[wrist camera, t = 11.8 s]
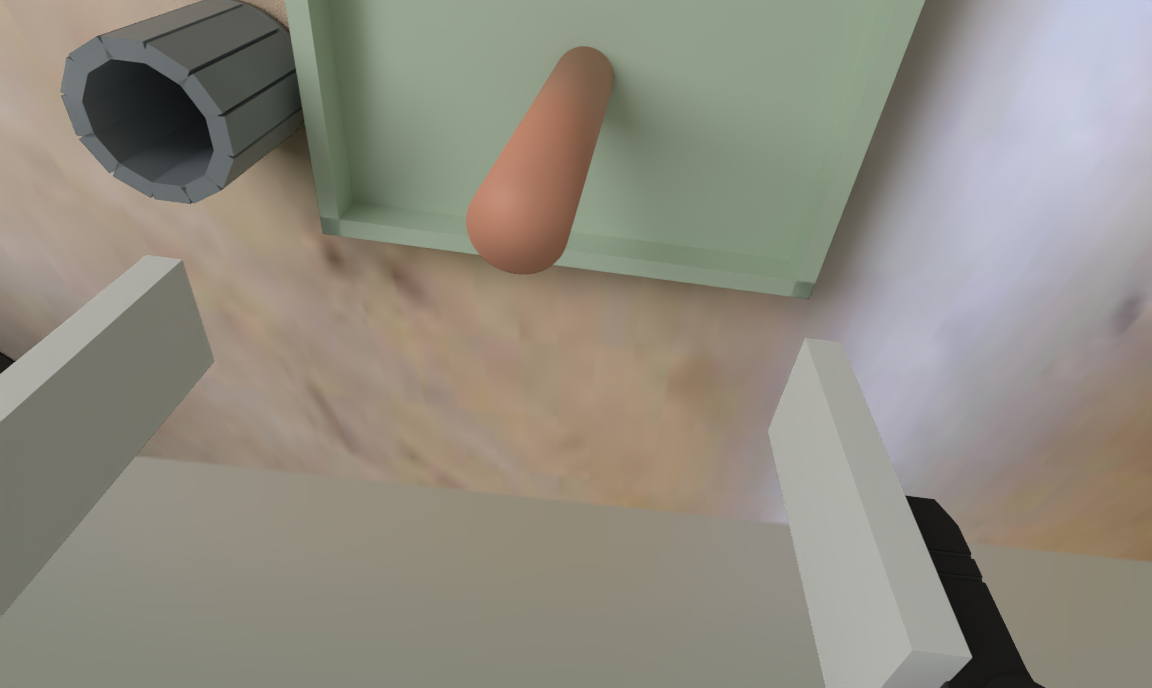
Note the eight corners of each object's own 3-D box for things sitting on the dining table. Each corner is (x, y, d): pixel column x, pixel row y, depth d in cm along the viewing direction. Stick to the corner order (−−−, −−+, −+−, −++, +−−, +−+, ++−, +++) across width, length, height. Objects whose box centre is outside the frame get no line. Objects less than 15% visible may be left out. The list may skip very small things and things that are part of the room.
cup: (200, 128, 34) (98, 191, 28) (163, -10, 30) (34, 27, 24) (321, 144, 34) (247, 211, 28) (301, 7, 30) (208, 49, 24)
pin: (556, 101, 31) (363, 237, 19) (561, 40, 30) (353, 143, 17) (677, 127, 30) (556, 290, 18) (689, 64, 29) (566, 195, 16)
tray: (343, 209, 36) (322, 233, 34) (286, -205, 25) (250, -211, 23) (799, 270, 36) (809, 299, 34) (942, -123, 25) (972, -120, 23)
